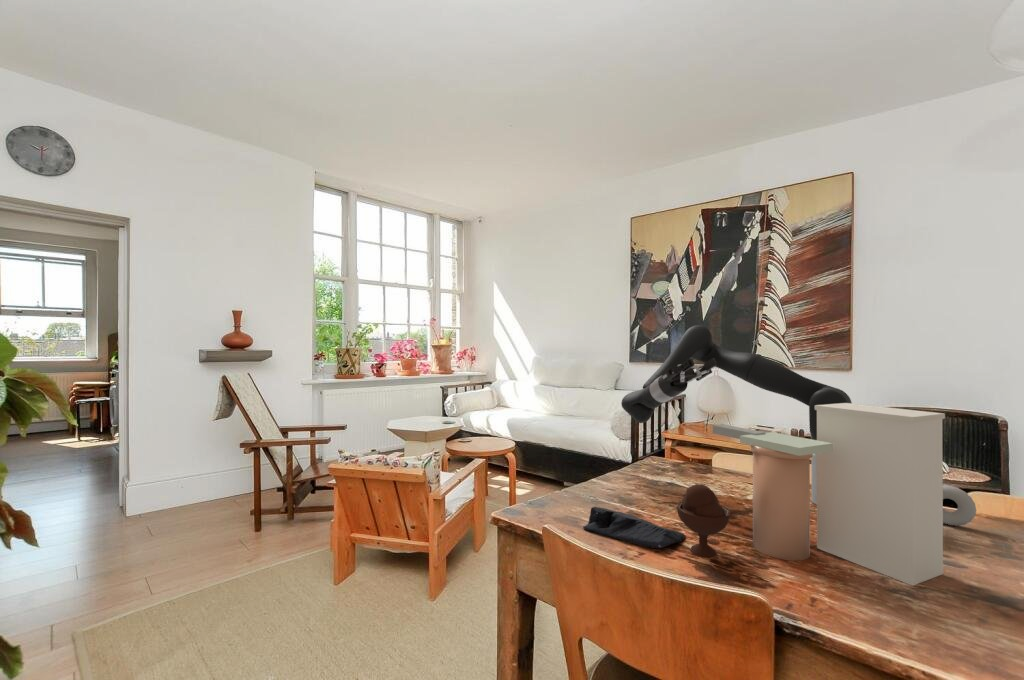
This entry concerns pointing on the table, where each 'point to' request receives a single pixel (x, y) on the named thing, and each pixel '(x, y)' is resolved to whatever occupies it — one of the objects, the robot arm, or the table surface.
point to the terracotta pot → (781, 504)
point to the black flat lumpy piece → (631, 528)
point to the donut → (964, 503)
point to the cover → (774, 440)
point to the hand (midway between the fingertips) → (704, 361)
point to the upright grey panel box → (881, 489)
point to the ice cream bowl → (702, 517)
